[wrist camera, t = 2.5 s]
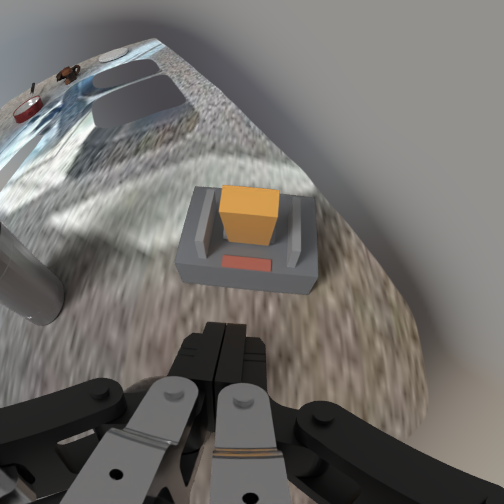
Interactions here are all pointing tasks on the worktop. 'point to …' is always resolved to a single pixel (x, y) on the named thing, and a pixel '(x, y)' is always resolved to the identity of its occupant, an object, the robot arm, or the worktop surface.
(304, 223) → the switch box
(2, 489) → the robot arm
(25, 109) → the frying pan
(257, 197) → the lever
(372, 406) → the worktop surface
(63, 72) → the brown arched piece
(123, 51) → the plastic lid
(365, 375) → the worktop surface
